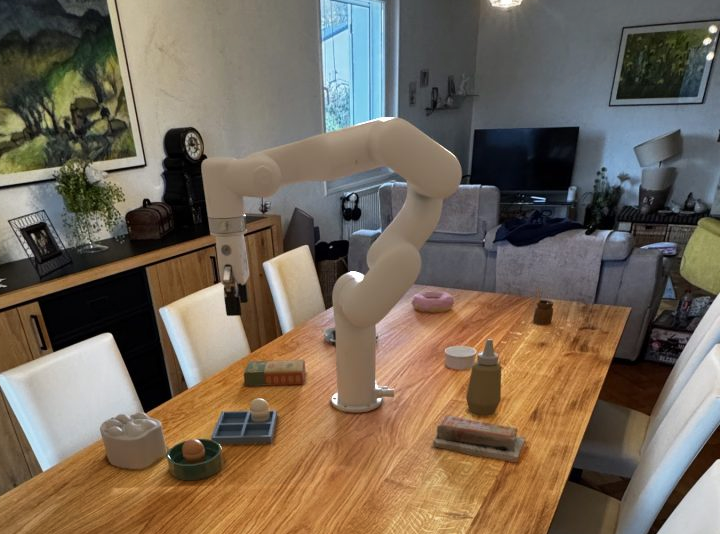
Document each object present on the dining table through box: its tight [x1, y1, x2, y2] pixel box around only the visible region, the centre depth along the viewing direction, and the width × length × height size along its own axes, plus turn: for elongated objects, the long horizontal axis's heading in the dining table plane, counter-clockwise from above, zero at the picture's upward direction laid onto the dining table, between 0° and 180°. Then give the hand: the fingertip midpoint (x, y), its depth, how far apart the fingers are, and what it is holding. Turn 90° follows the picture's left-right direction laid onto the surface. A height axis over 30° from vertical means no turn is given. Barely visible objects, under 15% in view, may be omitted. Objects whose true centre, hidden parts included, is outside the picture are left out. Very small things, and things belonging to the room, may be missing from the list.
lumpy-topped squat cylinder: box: [99, 411, 168, 470], centre depth 122 cm, size 10×13×9 cm
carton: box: [243, 359, 306, 387], centre depth 157 cm, size 8×16×4 cm, turn 89°
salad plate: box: [323, 326, 379, 347], centre depth 185 cm, size 19×18×5 cm
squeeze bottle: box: [465, 338, 502, 417], centre depth 133 cm, size 8×8×18 cm
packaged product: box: [432, 415, 526, 464], centre depth 123 cm, size 18×5×10 cm
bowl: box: [165, 438, 225, 481], centre depth 118 cm, size 11×11×4 cm
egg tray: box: [210, 409, 278, 445], centre depth 132 cm, size 13×13×2 cm
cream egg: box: [249, 397, 270, 423], centre depth 134 cm, size 4×4×6 cm
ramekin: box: [444, 345, 478, 371], centre depth 162 cm, size 9×9×4 cm
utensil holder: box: [532, 286, 557, 326], centre depth 190 cm, size 6×6×12 cm
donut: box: [410, 290, 455, 314], centre depth 210 cm, size 16×15×5 cm
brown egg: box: [182, 438, 206, 464], centre depth 117 cm, size 4×4×6 cm
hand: (237, 308), depth 126 cm, fingers open, 9 cm apart
